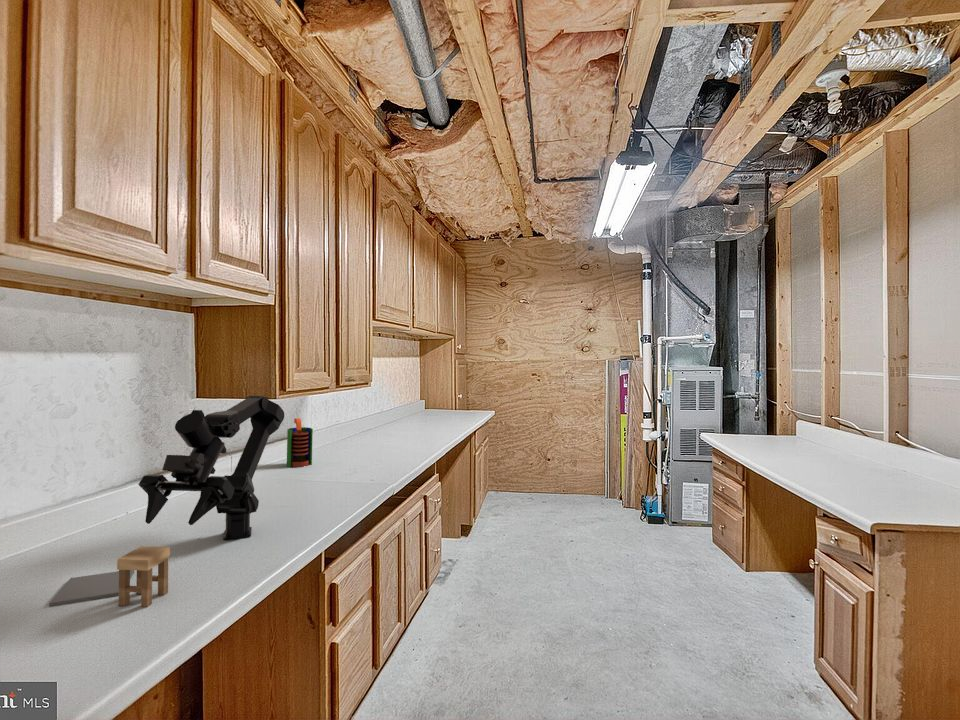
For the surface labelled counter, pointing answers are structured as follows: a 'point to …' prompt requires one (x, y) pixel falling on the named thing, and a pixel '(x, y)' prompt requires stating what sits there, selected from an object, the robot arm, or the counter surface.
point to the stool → (143, 573)
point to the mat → (88, 588)
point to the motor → (299, 445)
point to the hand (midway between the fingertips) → (168, 523)
